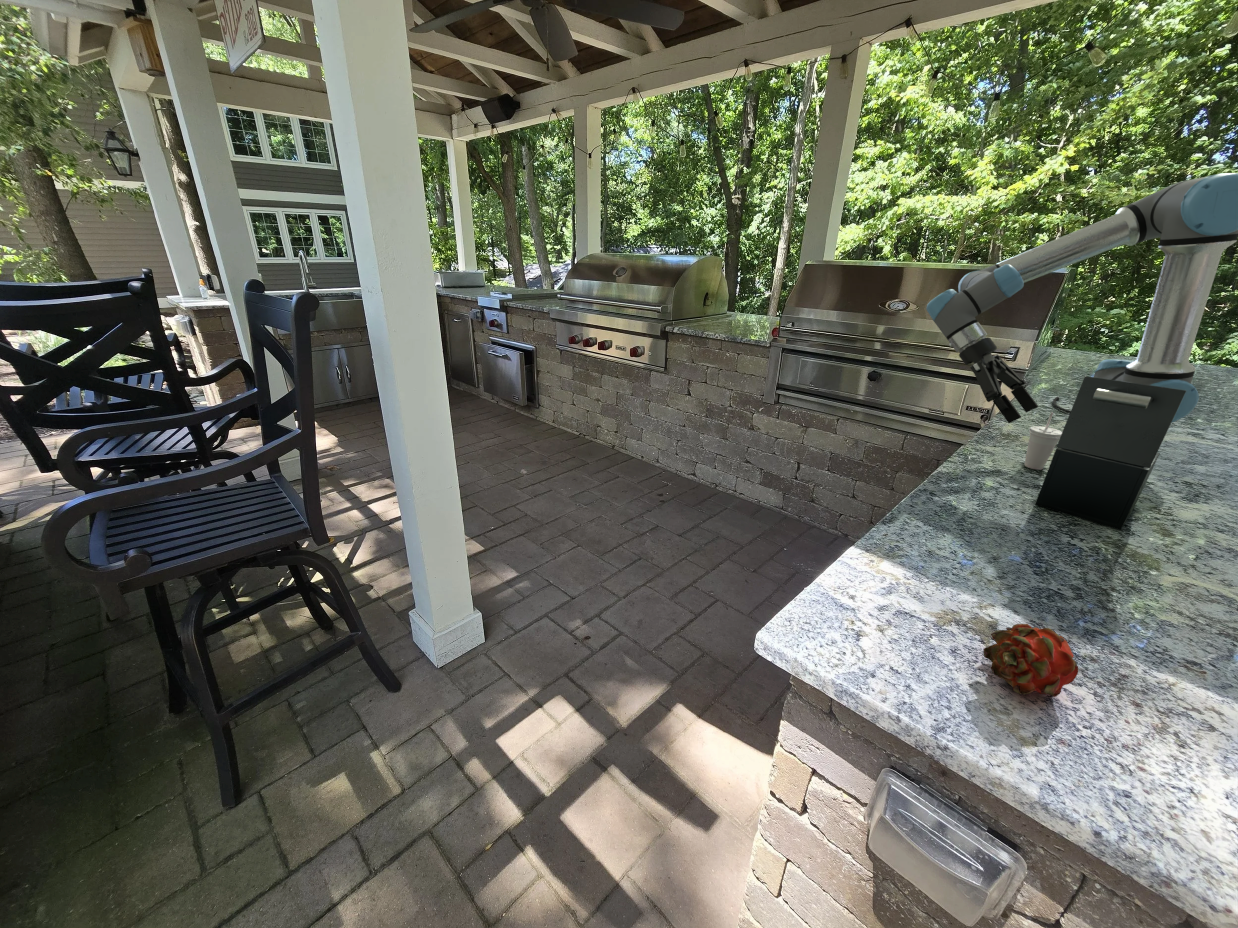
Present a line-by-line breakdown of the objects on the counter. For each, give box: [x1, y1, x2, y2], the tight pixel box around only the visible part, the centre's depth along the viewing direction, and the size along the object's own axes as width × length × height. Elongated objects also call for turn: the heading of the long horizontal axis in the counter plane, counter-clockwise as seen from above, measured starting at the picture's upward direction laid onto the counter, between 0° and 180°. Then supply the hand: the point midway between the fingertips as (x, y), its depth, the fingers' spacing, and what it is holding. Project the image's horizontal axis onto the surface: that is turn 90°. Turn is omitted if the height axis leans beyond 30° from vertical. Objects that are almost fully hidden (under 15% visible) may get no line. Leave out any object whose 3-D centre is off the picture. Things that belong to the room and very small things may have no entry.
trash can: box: [1034, 447, 1160, 531], centre depth 103 cm, size 14×14×13 cm
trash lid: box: [1056, 375, 1186, 468], centre depth 91 cm, size 14×14×9 cm
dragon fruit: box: [983, 623, 1079, 698], centre depth 62 cm, size 8×8×12 cm
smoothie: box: [1023, 411, 1063, 471], centre depth 122 cm, size 6×6×14 cm
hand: (1024, 415), depth 123 cm, fingers open, 13 cm apart
